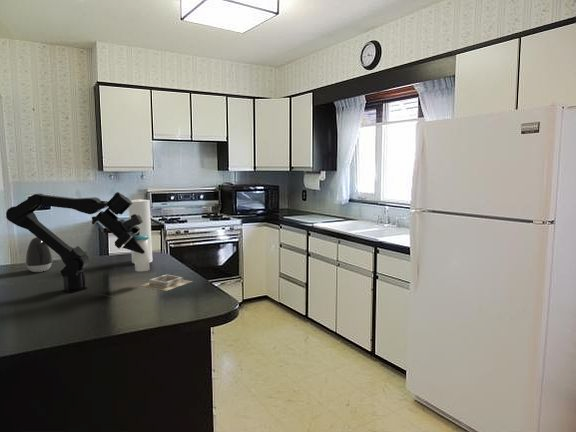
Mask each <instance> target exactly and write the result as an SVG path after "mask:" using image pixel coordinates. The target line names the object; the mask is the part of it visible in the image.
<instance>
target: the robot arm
mask: <svg viewBox="0 0 576 432" xmlns="http://www.w3.org/2000/svg"><path fill="white" fill-rule="evenodd" d="M131 205H132V202H131V199H130V198H128V197H127V196H125V195H124V194H122V193H120V192H119V191H117V192H115V193H114V195H113V196H112V197H111V198H110V199H109V200H108V201H107V200H101V199H100V198H99V197H96V196H94V197H93V196H92V197H80V198H79V197H78V198H77V197H76V198H75V197H67V196H58V195H49V194H45V193H44V194H43V193H35V194H32V195H31V196H30V197H28V198H27V199H25V200H24V201H22V202H21V203H19V204H17V205H15V206H11V207H9V208H8V209H7V210H6V212H5V214H6V215H5V218H6V220H7V221H8V222H10V223H12V224H13V225H15V226H17V227H19V228H22V229H26V230H28V231H29V232H30V233H31V234H33V235H34V236H35V237H37V238H39V239H40V240H41V241H42V242H44V243H45V244H46V245H47V246H48V247H49V249H51V250H52V251H53V252H55V253H56V254H57V255H59V257H60V259H61V261H62V263H63V265H65V266H64V267H63V268H62V269H61V270H60V271H59V272H60V274H61V276H62V281H63V282H62V283H63V288H61V291H63V292H67V293H75V292H79V291H82V290H86V289H88V286H86V276H85V275H84V274H85V273H84V271H85V268H86V266H88V264H89V261H90V259H89V256H88V254H87V253H88V252H86V251H84V250H83V249H82V248H81V247H80V246H79V245H77V246H75V247H72V246H70V245H69V244H68V243H66V242H65V241H64V240H63V239H61V238H60V237H59V236H57V234H55V233H54V232H53V231H51V229H49V228H47V226H45V225H44V224H43V223H42V222H40V221H39V220H38V217H37V215H36V214H35V212H36V211H37V210H38V209H39V208H40V207H41V206H42V207H43V206H45V207H53V208H60V209H61V208H63V209H70V210H71V209H72V210H75V211H78V212H80V213H84V214H87V215H93V214H96V215H95V216H94V215H93V216H91V224H92V225H95V224H97V223H98V222H99V224H101V225H102V226H103V227H104V228H105V229H106V230H107V231H108V233H109V234H112V235H114V236H115V237H116V240H115V241H114V246H115V247H116V248H117V249H118V250H120V249H121V248H122V249H126V250H128V251H131V250H132V251H135V252H138V253H141V254H143V253H144V252H145V251H144V250H143V249H142V248H141V246H140V245H139V244H138V243H137V242H136V239H135V236H136V235H140V231H139V230H140V228H139V227H138V226H136V225H139V224H141V223H142V222H143V221H142V219H141V216H140V215H136V214H134V215H132V216H131V219H128V220H125V219H124V218H123V219H122V218H121V219H120V218H119V216H118V215H120V216H121V215H123V214H124V213H125V212H126V211H127V210H129V207H130V206H131ZM103 209H105V210H104V211H103ZM97 213H98V214H97ZM138 231H139V232H138ZM137 232H138V233H137Z"/></svg>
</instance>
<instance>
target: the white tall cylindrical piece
mask: <svg viewBox="0 0 576 432" xmlns="http://www.w3.org/2000/svg"><path fill="white" fill-rule="evenodd" d="M135 239H136V242H137V243H138V244H139V245H140V246H141V248H142V249H143V250H144V251H145V252H144V253H143V254H141V253H138V252H135V251H134V258H135V264H134V271H135V272H146V271H150V262H149V247H148V239H149V236H148V235H136V236H135Z"/></svg>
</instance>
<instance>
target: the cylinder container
mask: <svg viewBox="0 0 576 432" xmlns="http://www.w3.org/2000/svg"><path fill="white" fill-rule="evenodd" d="M130 201H131V202H132V205H131V206H130V207H129V208H128V211H129V212H128V215H129V217H128V218H129V219H131V216H132V215H134V214H136V215H140V216H141V219H142V221H143V222H142V223H141V224H139V225H136V226H138V227H139V228H140V230H139V231H140V235H148V236H149V239H148V247H149V263H152V262H153V247H152V246H153V244H152V240H153V239H152V224H151V222H152V221H151V202H150V199H141V198H140V199H132V200H131V199H130ZM129 219H128V220H129ZM139 231H138V232H139ZM138 232H137V233H138ZM130 251H131V264H134V265H135V258H134V251H132V250H130Z"/></svg>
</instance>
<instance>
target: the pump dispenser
mask: <svg viewBox="0 0 576 432" xmlns="http://www.w3.org/2000/svg"><path fill="white" fill-rule="evenodd" d="M50 249H51V248H50V247H49V246H47V245H46V244H45V243H44V242H42V241H41V240H40V239H39V238H37V237H36V236H35V237H33V238H32V239H31V240H30V241H29V244H28V246H27V249H26V254H25V265H26V268H27V269H28V271H30V272H32V273H43V271H44V272H46V271H48V270H49V269H50V268H51V267H52V263H53V256H52V252H51V250H50Z"/></svg>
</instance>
